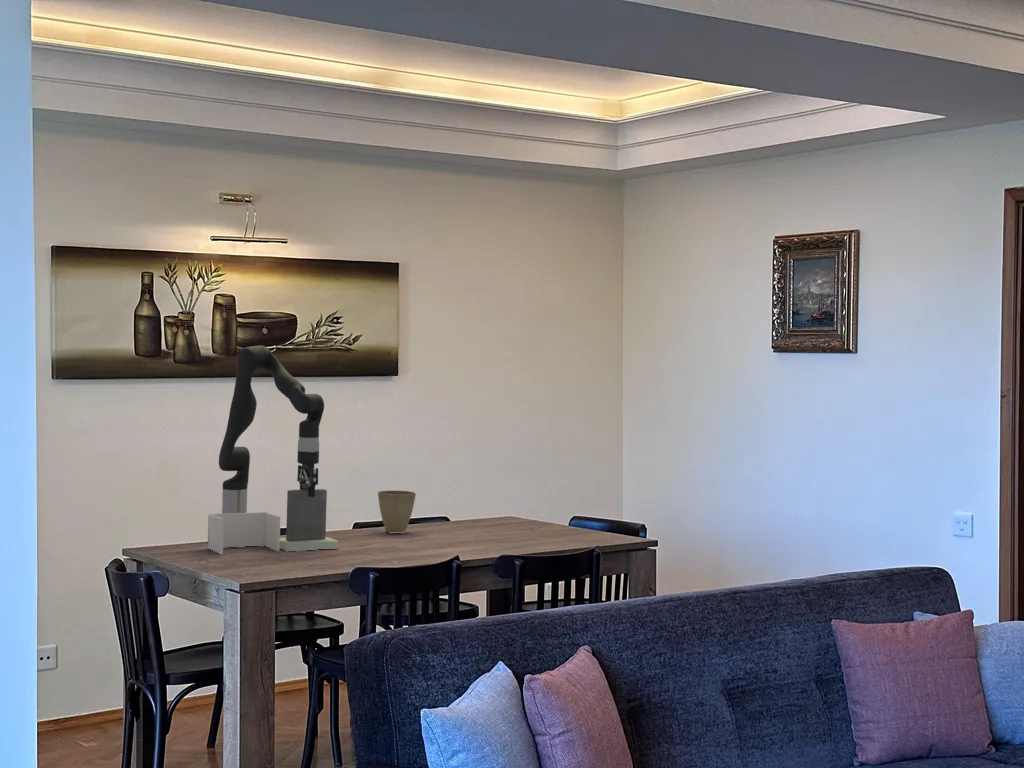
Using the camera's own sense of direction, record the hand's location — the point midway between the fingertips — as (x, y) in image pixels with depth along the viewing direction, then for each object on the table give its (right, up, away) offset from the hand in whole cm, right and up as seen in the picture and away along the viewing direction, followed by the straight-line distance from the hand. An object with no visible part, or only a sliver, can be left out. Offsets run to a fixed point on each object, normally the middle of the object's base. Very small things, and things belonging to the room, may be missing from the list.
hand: (307, 495), depth 437 cm
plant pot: (+27, -19, +48) cm, 59 cm away
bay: (-21, -18, -9) cm, 29 cm away
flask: (-1, -16, 0) cm, 16 cm away
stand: (-1, -19, 0) cm, 19 cm away
